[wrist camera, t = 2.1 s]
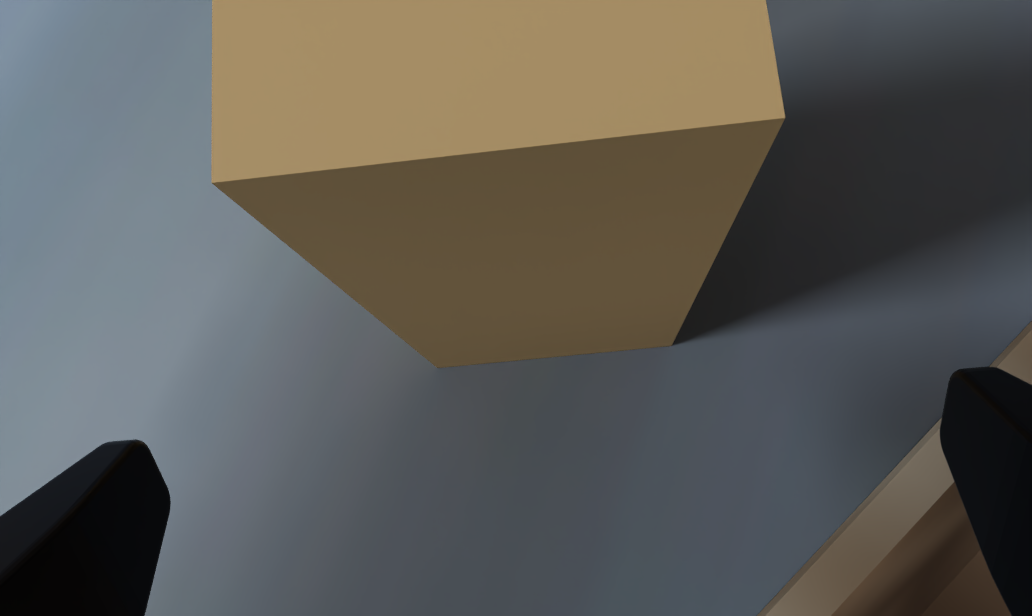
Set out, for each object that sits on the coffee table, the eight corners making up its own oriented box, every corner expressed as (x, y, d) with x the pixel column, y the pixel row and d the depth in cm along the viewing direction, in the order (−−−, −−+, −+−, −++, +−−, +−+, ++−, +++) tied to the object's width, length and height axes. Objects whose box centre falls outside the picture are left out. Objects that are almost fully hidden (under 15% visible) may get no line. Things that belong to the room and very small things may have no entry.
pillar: (671, 345, 21) (785, 118, 8) (437, 368, 21) (211, 182, 9) (648, 161, 22) (718, -282, 10) (426, 186, 23) (213, -206, 10)
